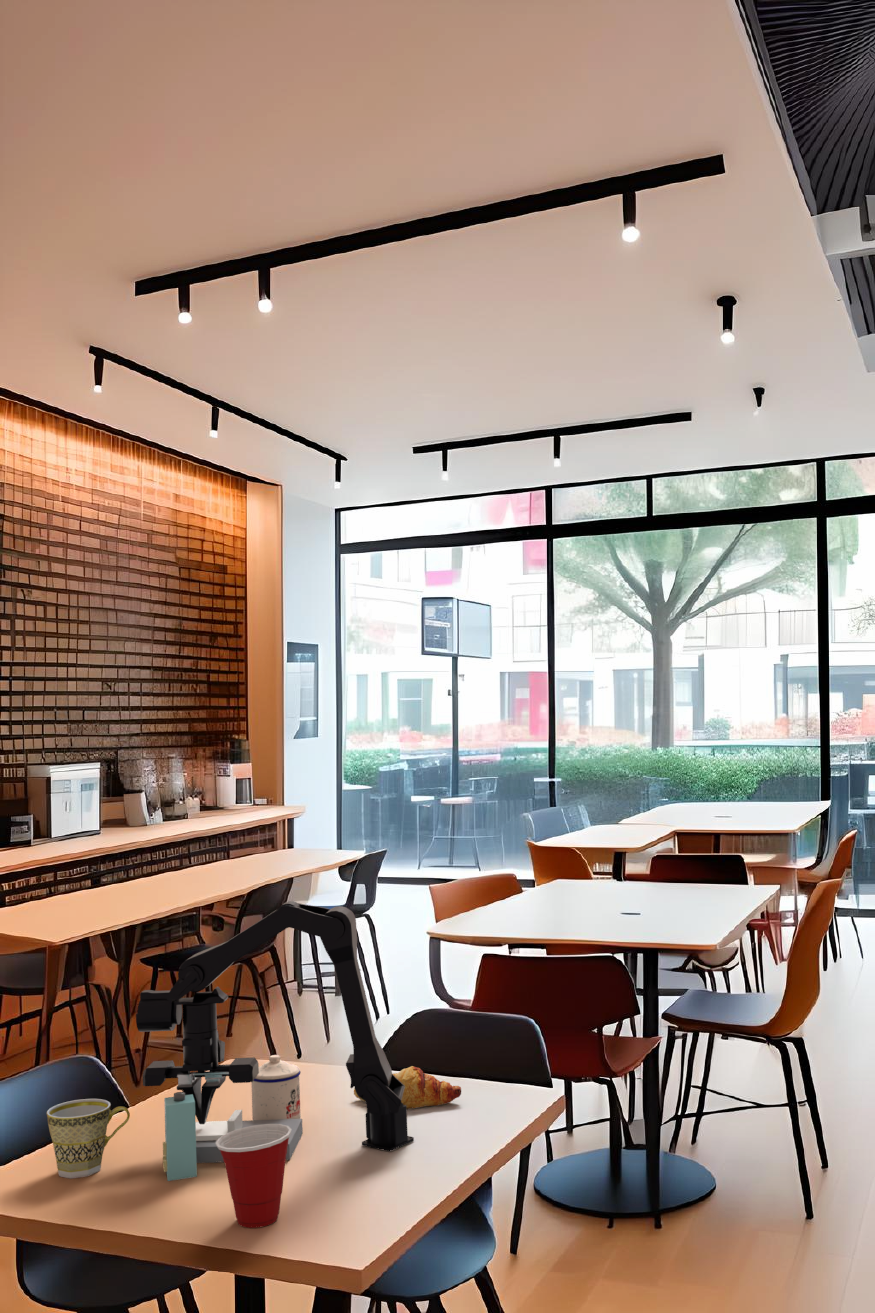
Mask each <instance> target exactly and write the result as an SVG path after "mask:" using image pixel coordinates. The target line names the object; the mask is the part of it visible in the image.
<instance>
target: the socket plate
mask: <svg viewBox="0 0 875 1313" xmlns="http://www.w3.org/2000/svg"><path fill="white" fill-rule="evenodd" d="M242 1123H243V1127H242V1128H245V1127H249V1126H254V1125H262V1124H282V1125H286V1126H289V1127H290V1128H291V1129H292V1131H291V1134H290V1136H289V1140H288V1146H287V1154H286V1161H290V1160H291V1159H292V1156H293V1155H294V1152H295V1150H296V1148H297V1146H298V1144H299V1143H300V1140H301V1137H302V1136H303V1133H304V1132H303V1118H301V1119H278V1120H253V1119H252V1120H251V1119H250V1120H249V1119H248V1120H242ZM216 1141H217V1140H213V1141H196V1162H197V1164H199V1163H200V1164H204V1163H205V1164H208V1163H209V1164H211V1163H224V1161H223V1156H222V1155H221V1151H220V1150H219V1149H218V1147H217V1146H216Z"/></svg>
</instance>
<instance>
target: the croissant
mask: <svg viewBox="0 0 875 1313" xmlns="http://www.w3.org/2000/svg"><path fill="white" fill-rule="evenodd" d="M392 1074H393V1075H394V1076H395V1077H396V1078H397V1079H398V1080H399V1081H400V1082H401V1083H403V1084H404V1085H405V1089H404V1093H403V1096H402V1100H401V1102H402V1103H403V1105H406V1109H407V1110H408V1109H409V1110H410V1109H411V1110H412V1109H417V1108H424V1107H434V1106H435V1107H437V1106H442V1105H445V1104H450V1103H451V1102H452V1101H453V1102H454V1100H455V1099H457V1098H460V1096H461V1095H462V1087H461V1086H459V1085H452V1084H451V1083H450V1082H448V1081H446V1080H442V1081H440V1080H438V1079H437V1078H436V1077H435V1076H434V1075H432V1074H428V1073H425V1072H424V1071H423V1070H422V1069H421V1068H420V1067H416V1066H413V1065H411V1066H409V1067H407V1068H403V1069H401V1070H400V1071H399V1072H397V1073H396V1072H395V1073H392ZM353 1095H354V1096H355V1097H356V1098H357V1099H359V1100H360V1101H363V1102H365V1100H363V1099H362V1098H360V1097H359V1096H358V1095H357V1093H356V1091H355V1087H353Z"/></svg>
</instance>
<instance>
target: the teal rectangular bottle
mask: <svg viewBox="0 0 875 1313" xmlns="http://www.w3.org/2000/svg"><path fill="white" fill-rule="evenodd" d="M195 1122H196V1115H195V1100H194V1097H193V1094H191V1095H185V1092H183V1091H177V1092H174V1093H173V1096H170V1097H164V1133H165V1135H164V1137H165V1141H162V1168H163V1172H164V1173H165V1174H166V1179H167V1182H171V1181H177V1180H184V1179H185V1180H186V1179H190V1178H197V1177H198V1173H197V1172H198V1170H197V1168H198V1167H197V1166H198V1165H197V1164H198V1163H197V1162H196V1123H195Z"/></svg>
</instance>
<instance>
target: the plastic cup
mask: <svg viewBox="0 0 875 1313" xmlns="http://www.w3.org/2000/svg"><path fill="white" fill-rule="evenodd" d="M291 1131H292V1129H291V1128H290V1127H289V1126H286V1125H282V1124H262V1125H254V1126H249V1127H245V1128H241V1129H237V1130H235V1131H232V1132H229V1133H227V1134H225V1135H223V1136H221V1137H220V1138H218V1140H217V1141H216V1146H217V1147H218V1149H219V1150H220V1151H221V1155H222V1156H223V1161H224V1162H223V1163H224V1167H225V1171H226V1176H227V1181H228V1186H229V1191H230V1192H229V1193H230V1196H231V1200H232V1202H233V1209H234V1214H235V1218H236V1220H237V1223H238V1225H239V1226H240V1227H243V1228H249V1229H254V1228H255V1229H257V1228H262V1227H267V1226H269V1225H272V1224H273V1223H275V1222H277V1220H278V1218H279V1214H280V1209H281V1208H280V1207H281V1200H282V1198H281V1197H282V1193H283V1188H284V1177H285V1170H286V1161H287V1160H286V1154H287V1146H288V1140H289V1136H290V1134H291Z"/></svg>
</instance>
